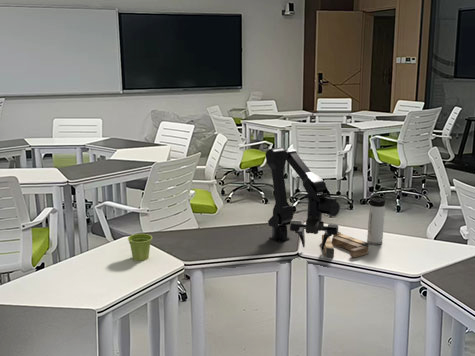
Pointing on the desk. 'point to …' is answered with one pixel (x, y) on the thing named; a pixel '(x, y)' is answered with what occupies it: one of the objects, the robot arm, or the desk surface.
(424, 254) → the desk surface
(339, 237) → the tan rectangular beam
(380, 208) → the travel mug
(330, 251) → the hinged leg
